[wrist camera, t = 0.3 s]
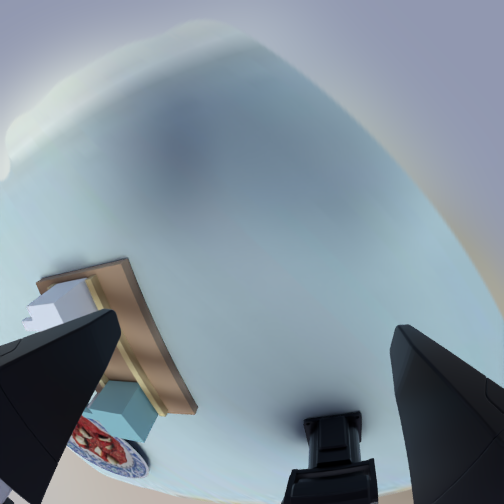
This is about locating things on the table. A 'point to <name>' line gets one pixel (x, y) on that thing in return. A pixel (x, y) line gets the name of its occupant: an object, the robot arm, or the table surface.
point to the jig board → (132, 337)
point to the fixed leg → (60, 305)
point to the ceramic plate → (106, 449)
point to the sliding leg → (123, 410)
